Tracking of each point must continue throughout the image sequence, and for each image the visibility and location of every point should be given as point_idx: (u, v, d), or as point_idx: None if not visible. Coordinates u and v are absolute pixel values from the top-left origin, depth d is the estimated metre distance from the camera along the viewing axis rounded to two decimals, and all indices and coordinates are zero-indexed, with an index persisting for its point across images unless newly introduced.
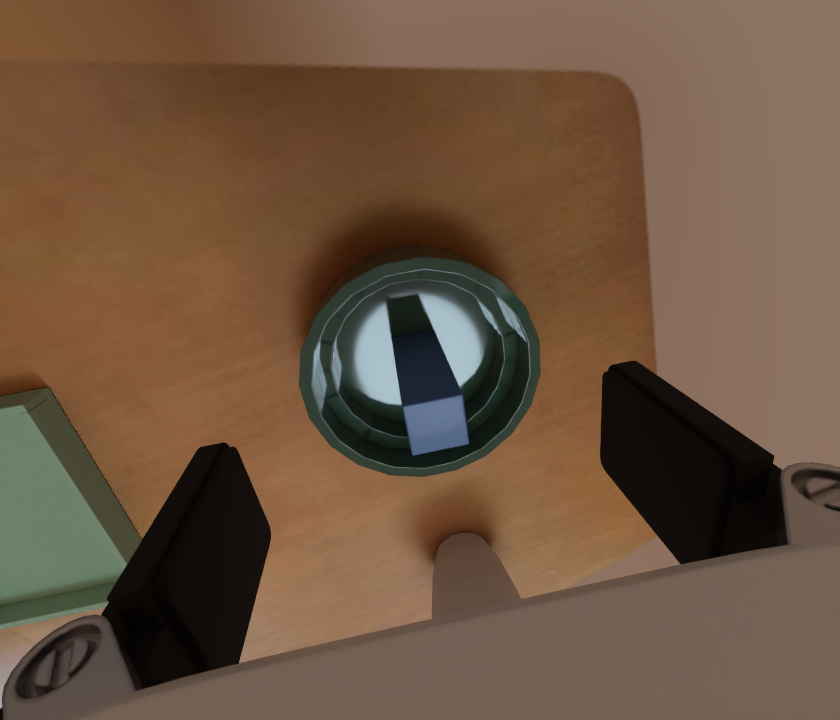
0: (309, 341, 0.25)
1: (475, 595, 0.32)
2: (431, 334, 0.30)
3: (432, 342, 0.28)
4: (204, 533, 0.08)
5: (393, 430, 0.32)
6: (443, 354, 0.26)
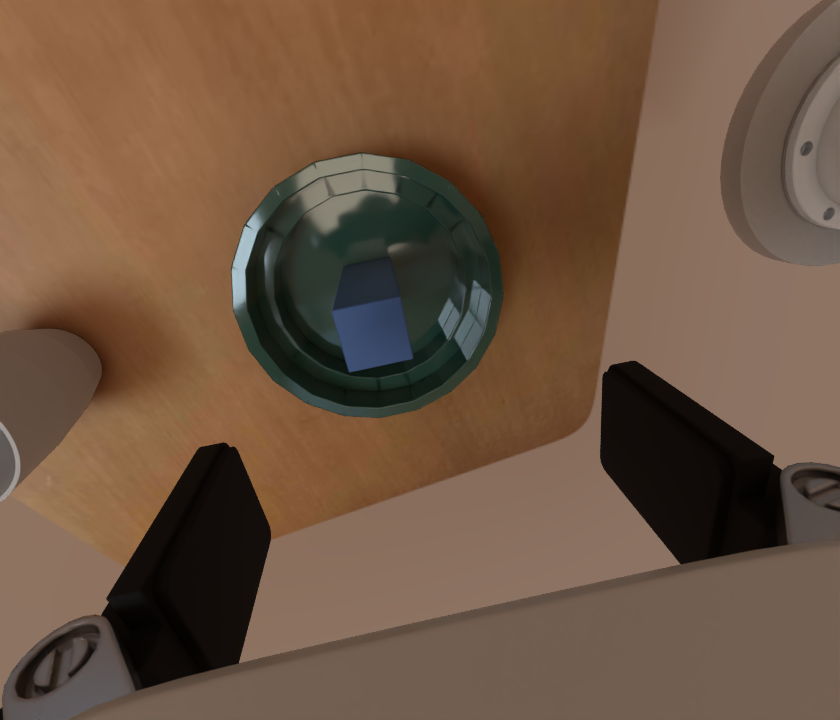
0: (420, 171, 0.22)
1: (40, 403, 0.22)
2: None
3: None
4: (204, 533, 0.08)
5: (277, 264, 0.26)
6: None
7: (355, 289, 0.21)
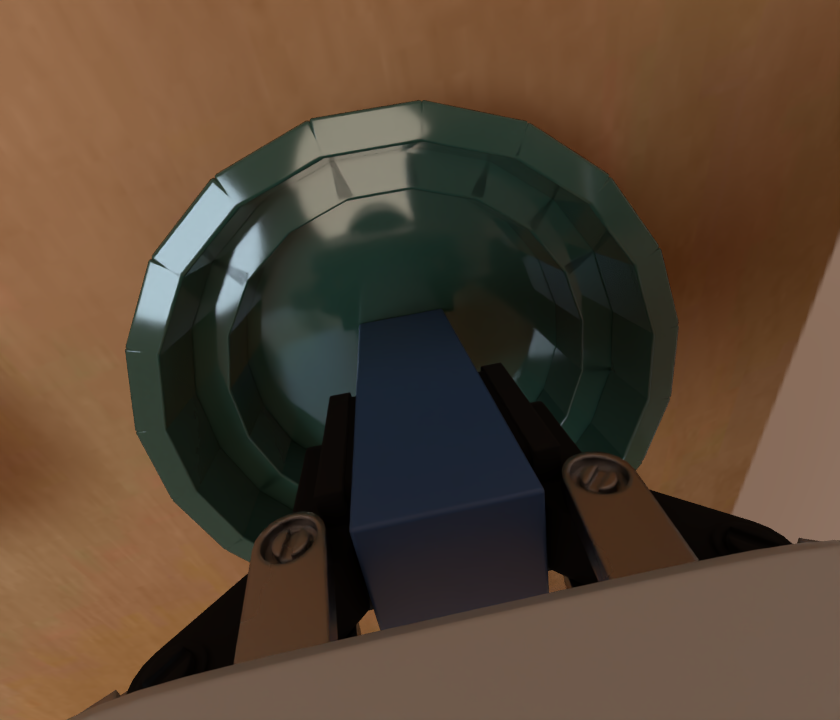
0: (549, 149, 0.10)
1: None
2: None
3: None
4: None
5: (236, 326, 0.13)
6: None
7: (399, 417, 0.09)
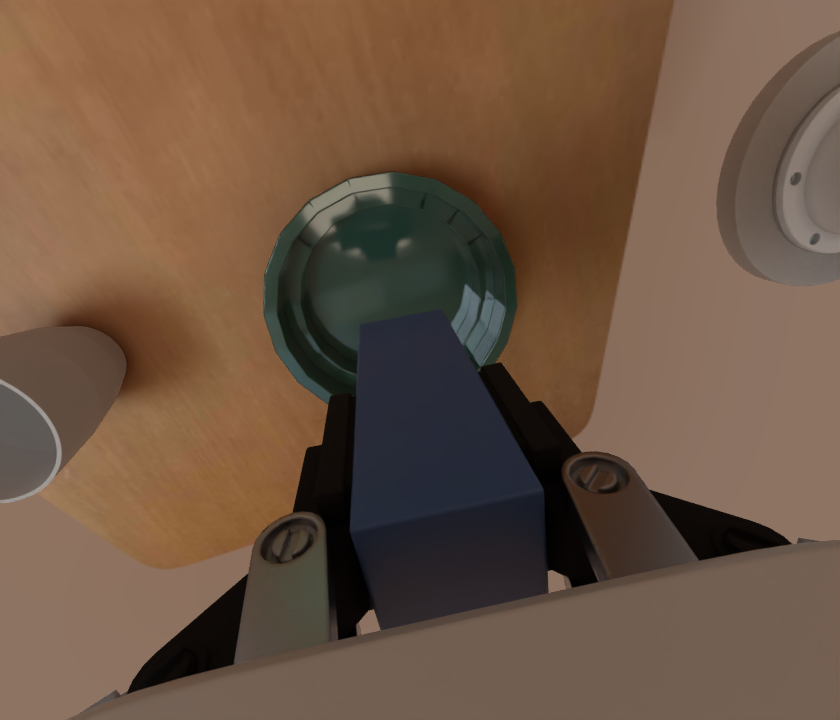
0: (446, 190, 0.23)
1: (79, 398, 0.23)
2: None
3: None
4: None
5: (304, 271, 0.27)
6: None
7: (399, 417, 0.09)
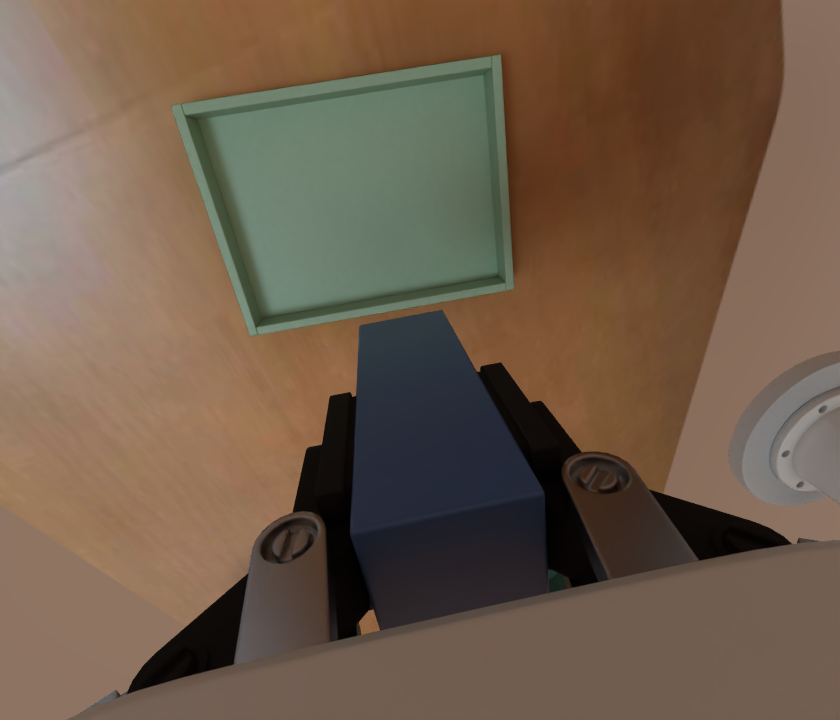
0: None
1: None
2: None
3: None
4: None
5: None
6: None
7: (400, 419, 0.09)
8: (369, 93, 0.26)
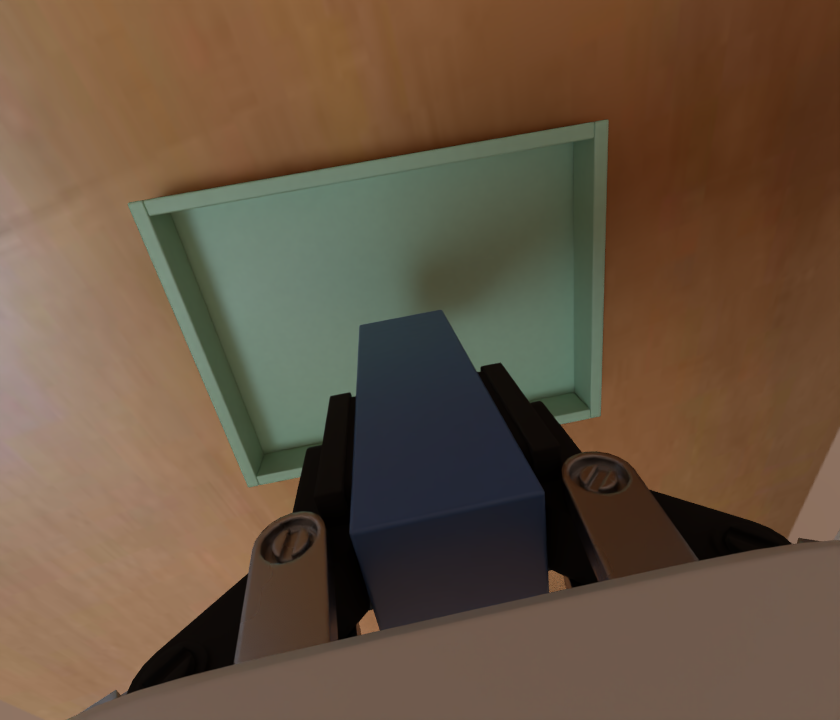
0: None
1: None
2: None
3: None
4: None
5: None
6: None
7: (399, 418, 0.09)
8: (413, 170, 0.18)
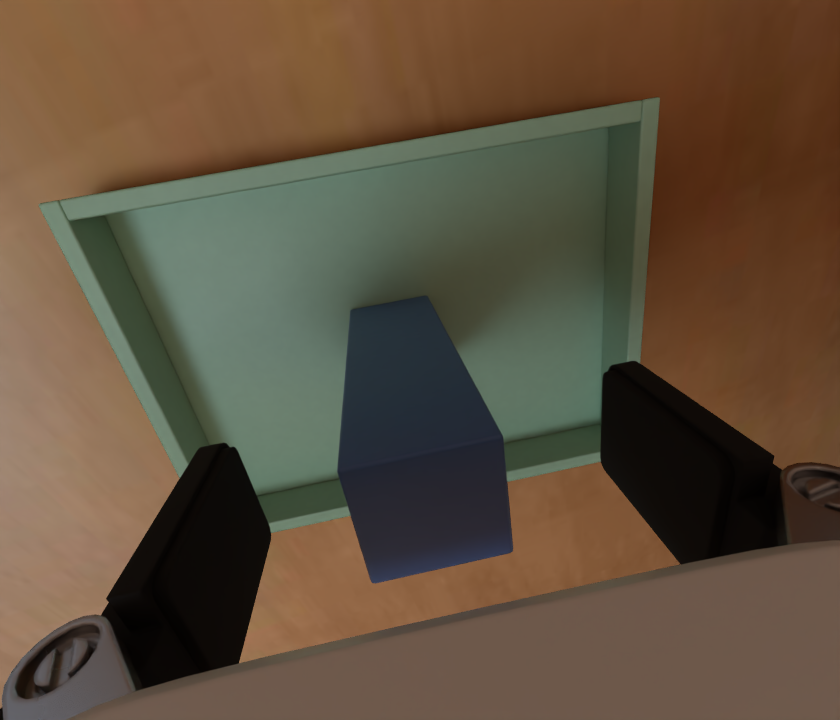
0: None
1: None
2: None
3: None
4: (204, 533, 0.08)
5: None
6: None
7: (383, 385, 0.10)
8: (411, 162, 0.15)
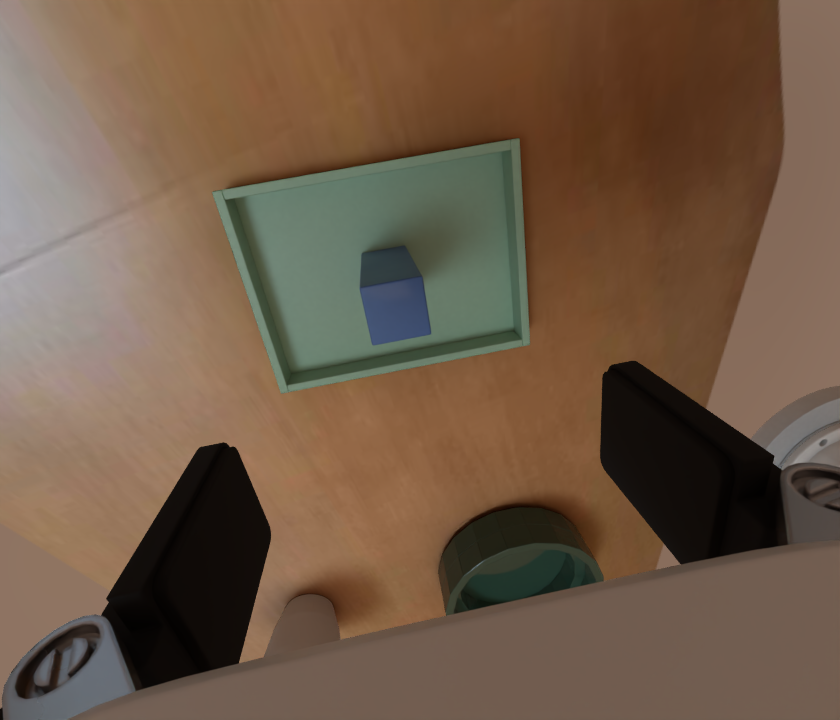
0: (565, 547, 0.38)
1: None
2: None
3: None
4: (204, 533, 0.08)
5: None
6: None
7: (378, 271, 0.23)
8: (394, 170, 0.28)
